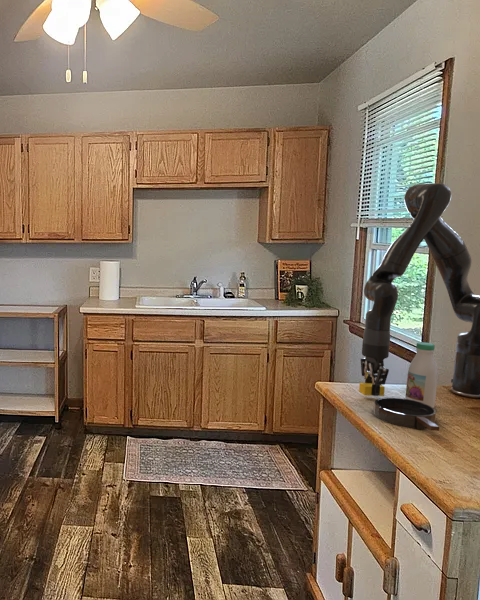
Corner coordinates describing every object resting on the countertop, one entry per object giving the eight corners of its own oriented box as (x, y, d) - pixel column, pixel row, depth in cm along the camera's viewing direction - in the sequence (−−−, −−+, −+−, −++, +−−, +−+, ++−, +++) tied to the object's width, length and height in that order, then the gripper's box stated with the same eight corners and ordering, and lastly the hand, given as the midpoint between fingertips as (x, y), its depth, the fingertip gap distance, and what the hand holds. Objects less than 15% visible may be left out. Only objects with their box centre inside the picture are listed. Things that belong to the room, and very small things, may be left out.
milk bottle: (425, 401, 159) (431, 341, 156) (440, 410, 152) (446, 346, 149) (399, 401, 160) (405, 340, 157) (413, 409, 152) (419, 346, 149)
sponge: (377, 391, 165) (378, 383, 164) (383, 395, 161) (384, 387, 160) (358, 391, 165) (359, 382, 165) (364, 395, 161) (365, 386, 161)
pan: (415, 408, 153) (416, 398, 153) (447, 428, 138) (448, 416, 138) (364, 407, 154) (365, 396, 154) (390, 427, 139) (391, 415, 139)
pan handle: (414, 427, 139) (416, 416, 138) (422, 428, 139) (423, 416, 138) (430, 438, 132) (431, 426, 132) (438, 438, 132) (439, 426, 131)
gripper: (400, 347, 153) (395, 400, 156) (377, 337, 167) (372, 386, 170) (375, 347, 154) (370, 400, 156) (353, 337, 168) (349, 386, 170)
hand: (371, 392), depth 163 cm, fingers closed on sponge, 4 cm apart
